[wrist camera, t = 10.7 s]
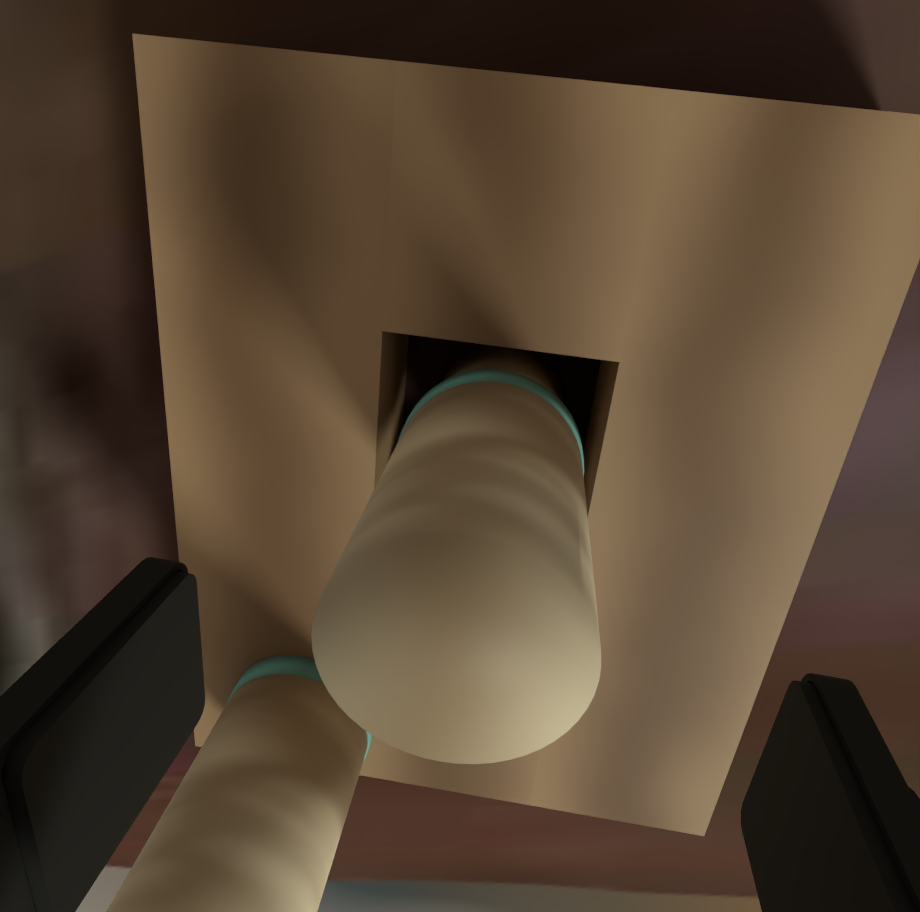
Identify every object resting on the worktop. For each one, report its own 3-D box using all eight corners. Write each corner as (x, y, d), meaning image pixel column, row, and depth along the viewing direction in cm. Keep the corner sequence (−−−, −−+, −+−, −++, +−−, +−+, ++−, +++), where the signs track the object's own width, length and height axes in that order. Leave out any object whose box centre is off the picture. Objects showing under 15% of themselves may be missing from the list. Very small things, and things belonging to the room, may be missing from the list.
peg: (589, 341, 21) (632, 554, 10) (563, 483, 23) (576, 787, 12) (431, 321, 21) (309, 507, 10) (419, 463, 23) (307, 741, 13)
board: (886, 124, 18) (1407, 98, 7) (684, 743, 27) (771, 1145, 16) (212, 53, 19) (-242, -62, 8) (240, 668, 28) (47, 995, 18)
